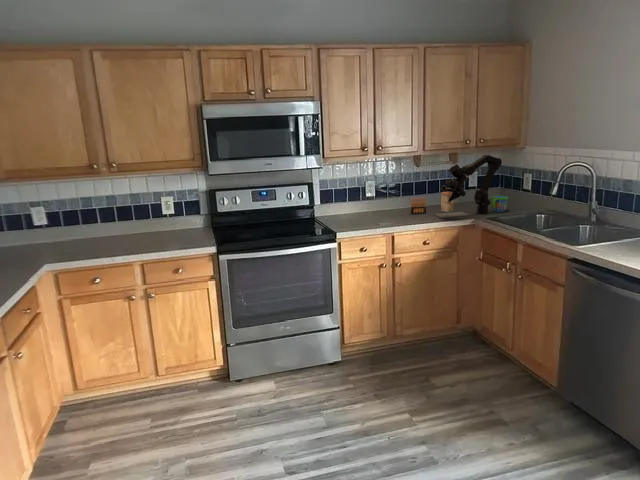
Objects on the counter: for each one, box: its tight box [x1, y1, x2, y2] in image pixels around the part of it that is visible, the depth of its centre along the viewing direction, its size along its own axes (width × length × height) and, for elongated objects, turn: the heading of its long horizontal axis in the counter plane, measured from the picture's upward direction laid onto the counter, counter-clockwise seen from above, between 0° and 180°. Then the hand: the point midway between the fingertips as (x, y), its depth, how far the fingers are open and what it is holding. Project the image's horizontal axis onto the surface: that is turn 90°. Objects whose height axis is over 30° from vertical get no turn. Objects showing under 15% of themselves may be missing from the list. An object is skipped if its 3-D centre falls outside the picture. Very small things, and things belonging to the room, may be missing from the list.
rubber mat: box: [434, 211, 470, 219], centre depth 345 cm, size 20×11×1 cm, turn 101°
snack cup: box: [491, 195, 509, 213], centre depth 352 cm, size 16×10×10 cm
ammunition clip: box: [410, 196, 427, 215], centre depth 355 cm, size 11×2×12 cm, turn 88°
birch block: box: [440, 191, 455, 213], centre depth 332 cm, size 6×6×12 cm
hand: (445, 200), depth 331 cm, fingers closed on birch block, 5 cm apart
